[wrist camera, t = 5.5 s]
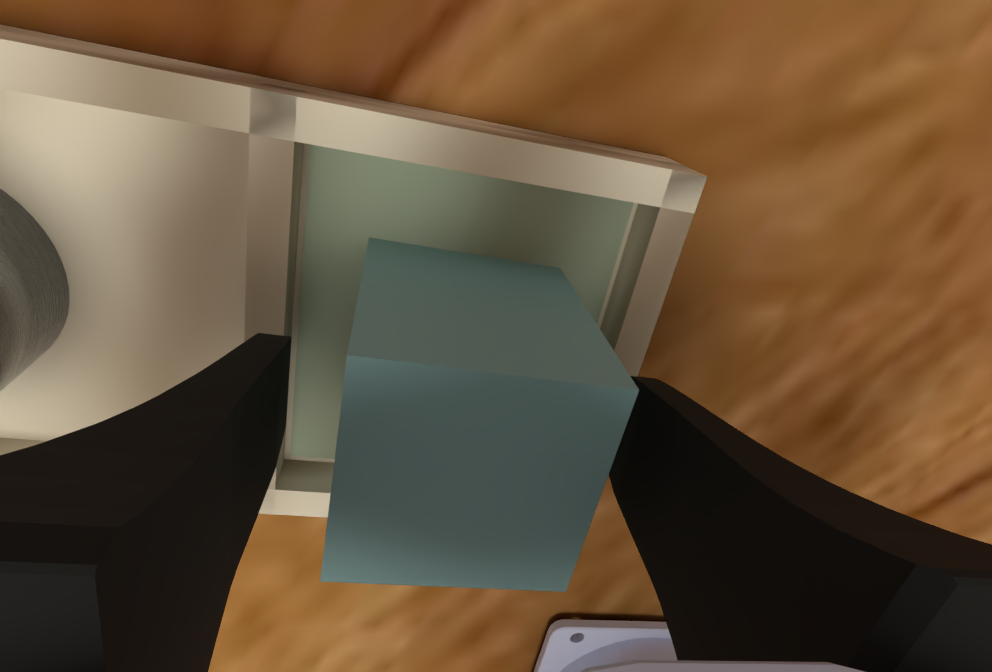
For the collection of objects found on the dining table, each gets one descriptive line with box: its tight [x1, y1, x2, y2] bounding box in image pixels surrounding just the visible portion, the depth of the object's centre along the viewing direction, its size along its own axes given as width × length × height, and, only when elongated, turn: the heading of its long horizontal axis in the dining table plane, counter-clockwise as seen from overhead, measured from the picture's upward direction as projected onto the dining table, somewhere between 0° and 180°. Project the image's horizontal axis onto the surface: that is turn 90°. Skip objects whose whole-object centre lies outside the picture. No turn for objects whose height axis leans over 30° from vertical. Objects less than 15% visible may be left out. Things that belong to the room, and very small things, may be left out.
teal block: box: [320, 237, 639, 592], centre depth 12 cm, size 4×4×6 cm
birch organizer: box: [0, 24, 707, 517], centre depth 14 cm, size 20×10×2 cm, turn 79°
